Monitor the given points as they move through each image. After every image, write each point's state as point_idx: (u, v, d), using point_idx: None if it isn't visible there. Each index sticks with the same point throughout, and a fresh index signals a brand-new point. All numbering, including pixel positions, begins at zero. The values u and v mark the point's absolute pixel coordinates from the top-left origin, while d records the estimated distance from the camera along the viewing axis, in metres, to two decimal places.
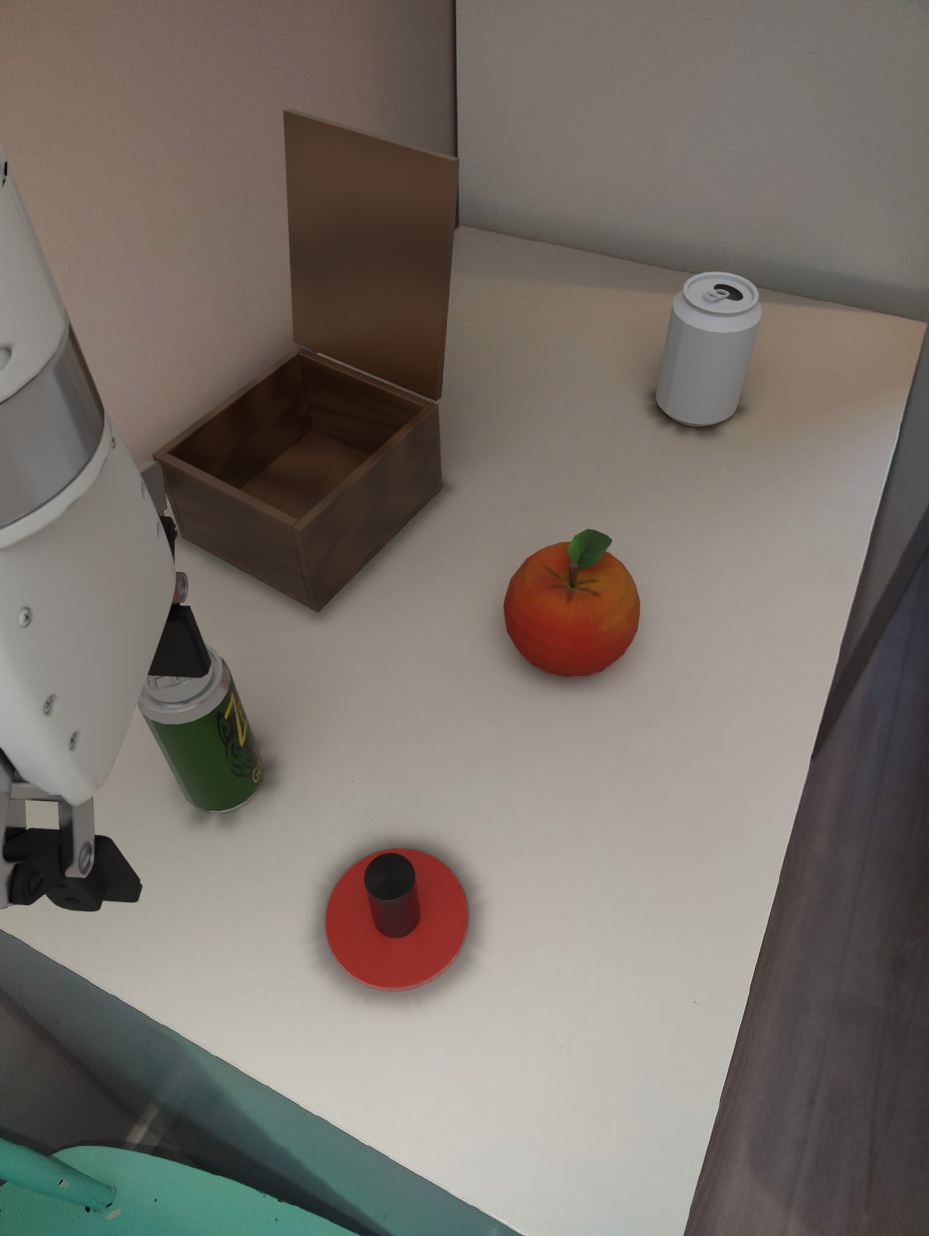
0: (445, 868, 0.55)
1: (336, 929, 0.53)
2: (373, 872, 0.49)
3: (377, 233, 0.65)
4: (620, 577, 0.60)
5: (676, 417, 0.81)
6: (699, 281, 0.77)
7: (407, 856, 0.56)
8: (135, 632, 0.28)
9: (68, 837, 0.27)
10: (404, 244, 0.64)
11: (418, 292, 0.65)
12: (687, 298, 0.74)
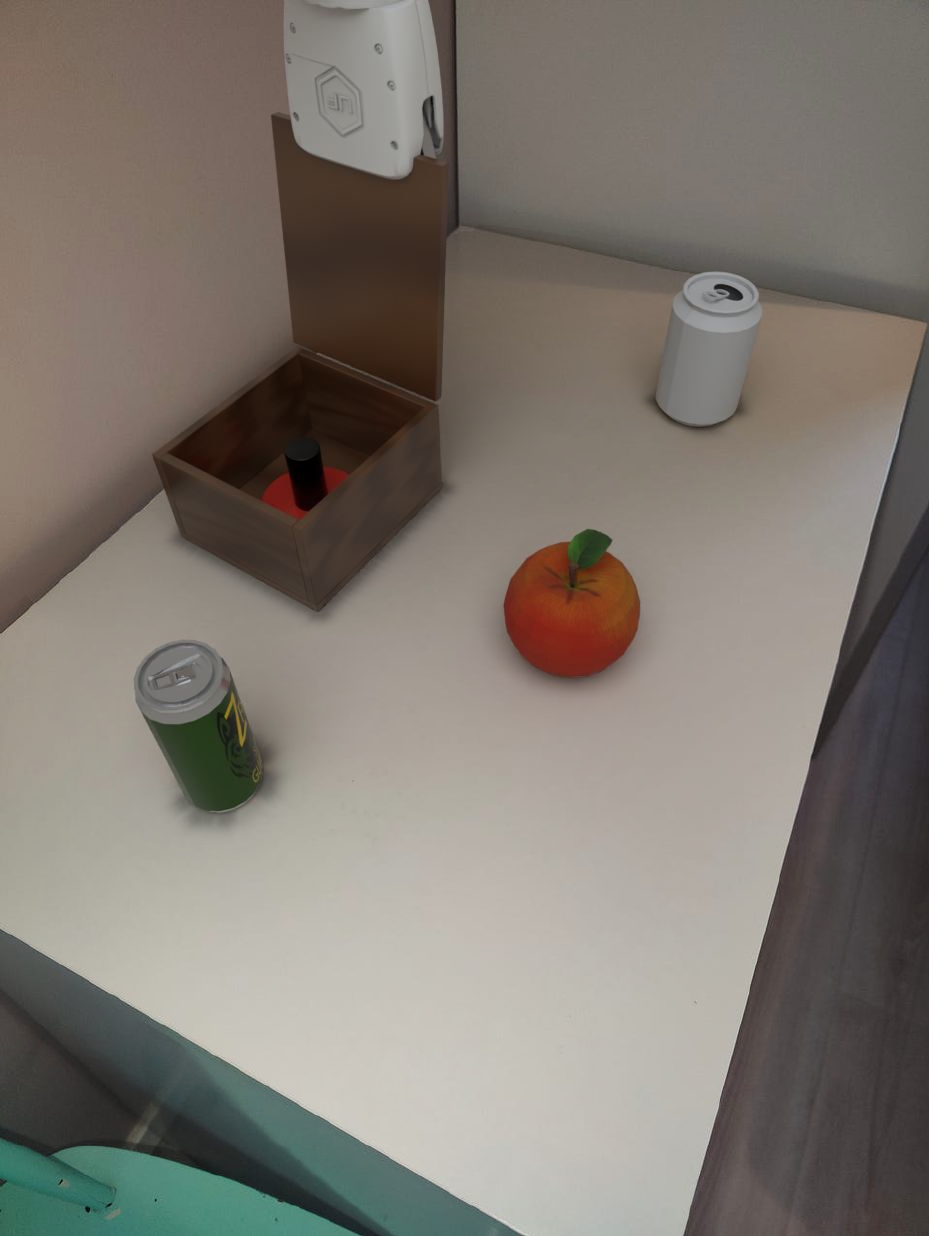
0: None
1: None
2: (290, 446, 0.71)
3: (370, 237, 0.64)
4: (620, 577, 0.60)
5: (676, 417, 0.81)
6: (699, 281, 0.77)
7: None
8: None
9: None
10: (397, 248, 0.63)
11: (414, 295, 0.65)
12: (687, 298, 0.74)
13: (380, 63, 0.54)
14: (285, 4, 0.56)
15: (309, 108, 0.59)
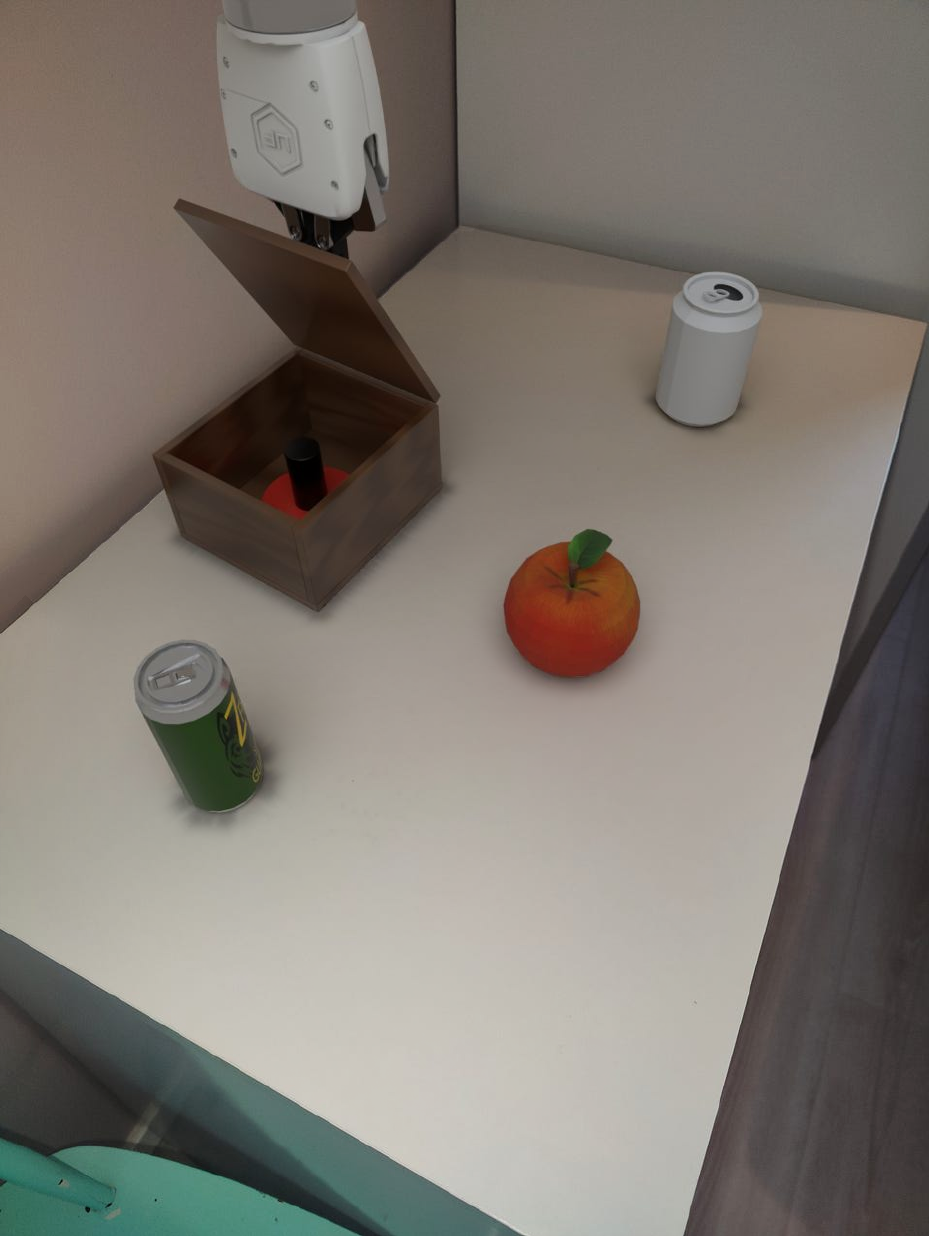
0: None
1: None
2: (290, 446, 0.71)
3: (314, 300, 0.62)
4: (620, 577, 0.60)
5: (676, 417, 0.81)
6: (699, 281, 0.77)
7: None
8: None
9: None
10: (342, 311, 0.61)
11: (375, 342, 0.64)
12: (687, 298, 0.74)
13: (316, 101, 0.51)
14: (217, 37, 0.53)
15: (247, 145, 0.56)
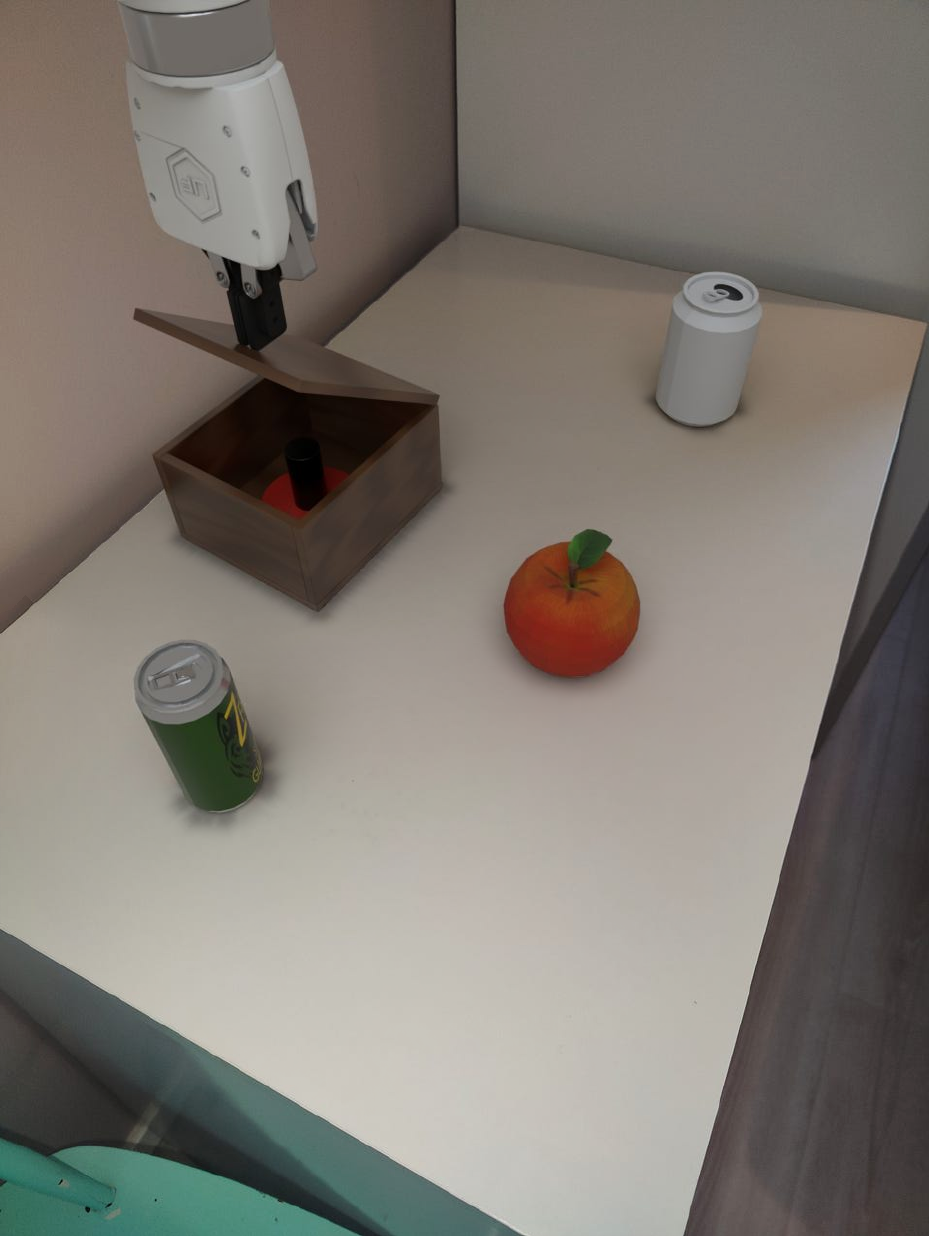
0: None
1: None
2: (290, 446, 0.71)
3: None
4: (620, 577, 0.60)
5: (676, 417, 0.81)
6: (699, 281, 0.77)
7: None
8: None
9: None
10: None
11: None
12: (687, 298, 0.74)
13: (231, 147, 0.48)
14: (127, 77, 0.49)
15: (164, 190, 0.53)
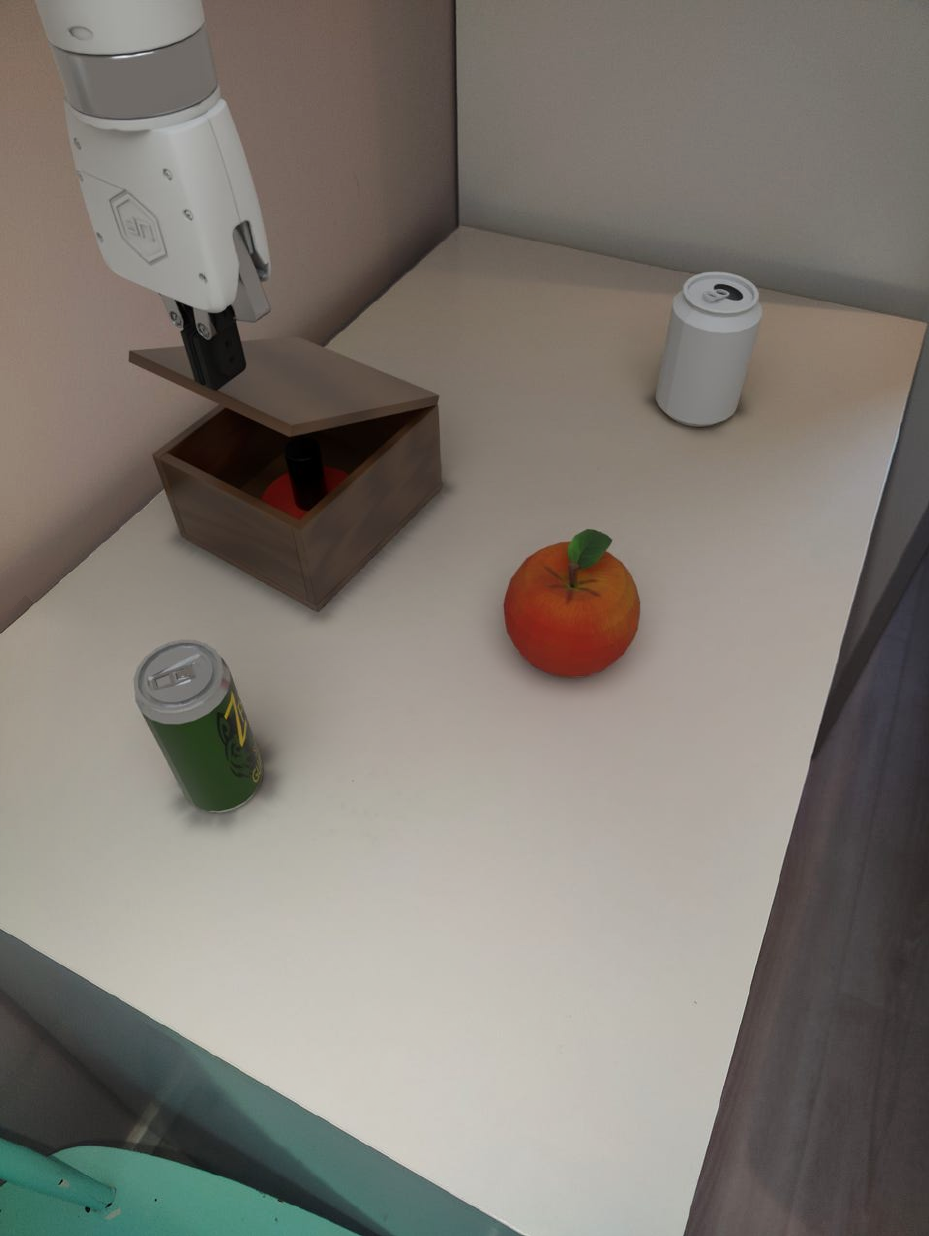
0: None
1: None
2: (290, 446, 0.71)
3: None
4: (620, 577, 0.60)
5: (676, 417, 0.81)
6: (699, 281, 0.77)
7: None
8: None
9: None
10: None
11: None
12: (687, 298, 0.74)
13: (172, 190, 0.46)
14: (66, 117, 0.47)
15: (110, 230, 0.51)
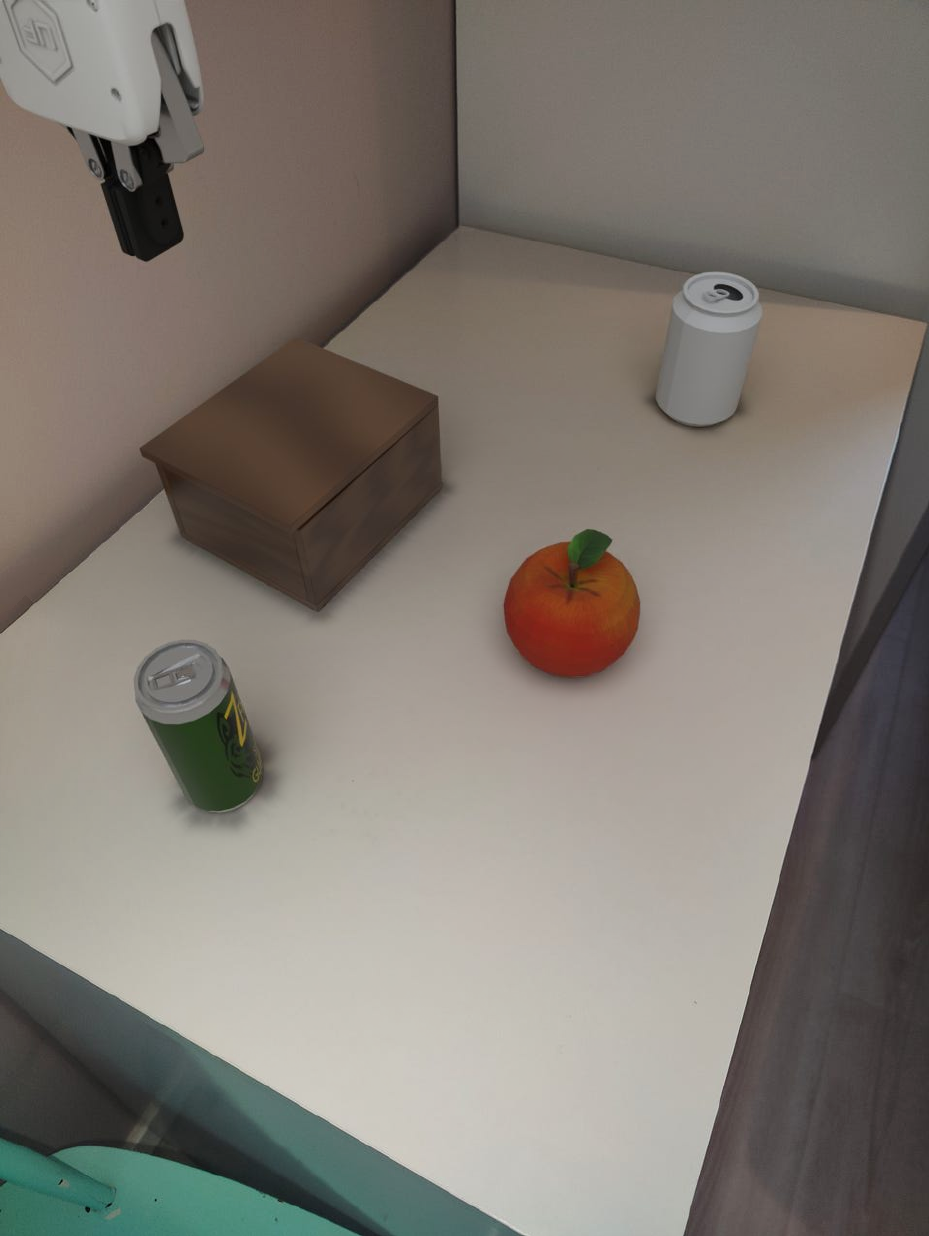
0: None
1: None
2: None
3: None
4: (620, 577, 0.60)
5: (676, 417, 0.81)
6: (699, 281, 0.77)
7: None
8: None
9: None
10: None
11: None
12: (687, 298, 0.74)
13: None
14: None
15: (8, 44, 0.42)
